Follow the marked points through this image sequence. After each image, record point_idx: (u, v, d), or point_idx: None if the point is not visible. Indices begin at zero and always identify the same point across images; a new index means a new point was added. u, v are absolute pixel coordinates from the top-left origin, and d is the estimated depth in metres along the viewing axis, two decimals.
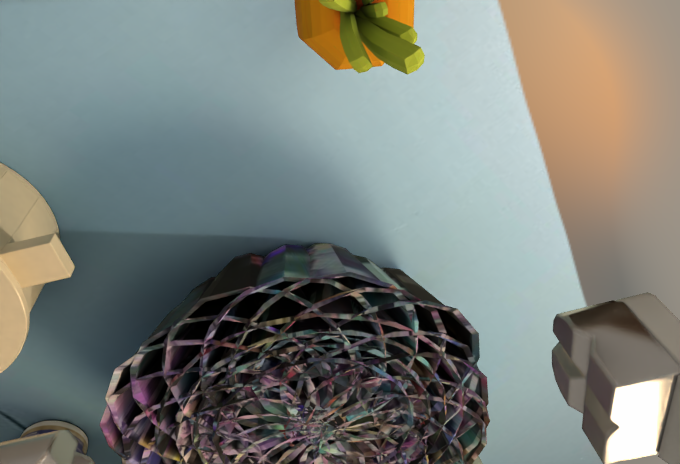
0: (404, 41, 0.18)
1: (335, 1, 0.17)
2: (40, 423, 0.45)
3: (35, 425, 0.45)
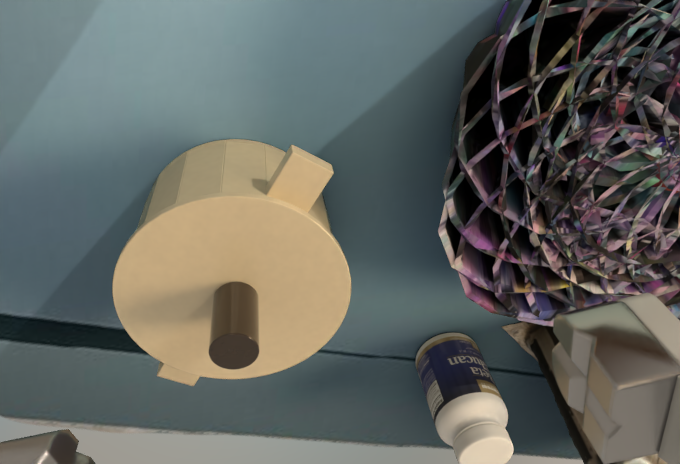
0: None
1: None
2: (422, 347, 0.44)
3: (419, 351, 0.44)
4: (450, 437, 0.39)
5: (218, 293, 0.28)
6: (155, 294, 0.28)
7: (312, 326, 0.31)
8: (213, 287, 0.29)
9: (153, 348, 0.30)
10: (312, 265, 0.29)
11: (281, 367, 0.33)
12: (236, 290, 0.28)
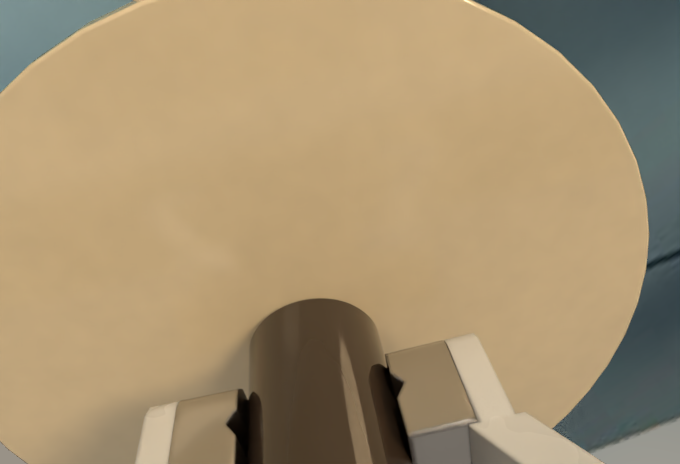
0: None
1: None
2: None
3: None
4: None
5: None
6: None
7: (568, 288, 0.10)
8: (238, 357, 0.10)
9: None
10: (434, 129, 0.08)
11: (559, 412, 0.12)
12: (275, 341, 0.09)
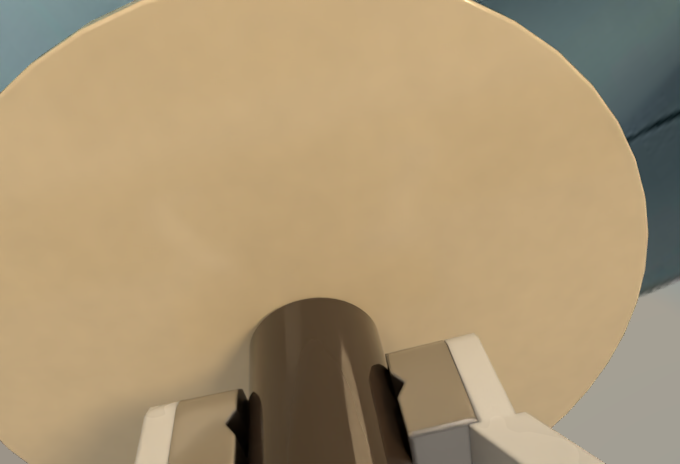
0: None
1: None
2: None
3: None
4: None
5: (250, 369, 0.09)
6: None
7: (567, 287, 0.10)
8: (238, 357, 0.10)
9: None
10: (434, 128, 0.08)
11: (558, 411, 0.12)
12: (275, 341, 0.09)
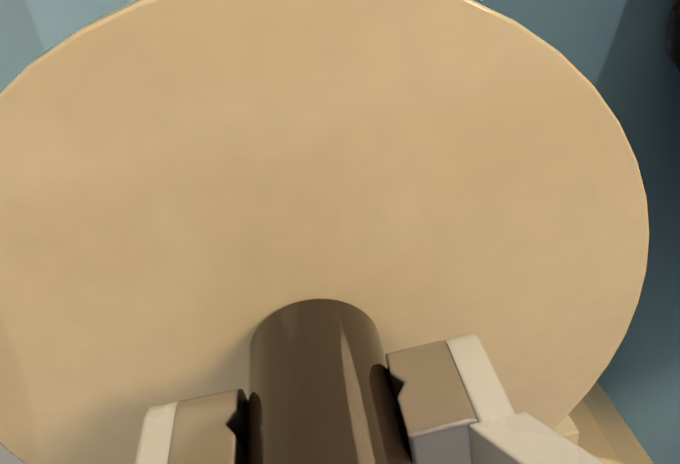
0: None
1: None
2: None
3: None
4: None
5: None
6: None
7: (568, 288, 0.10)
8: (238, 358, 0.10)
9: None
10: (434, 129, 0.08)
11: (559, 412, 0.12)
12: (276, 342, 0.09)
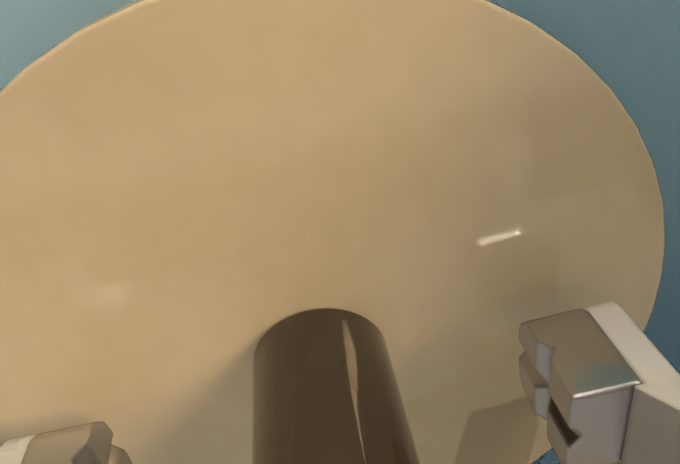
0: None
1: None
2: None
3: None
4: None
5: None
6: (140, 456, 0.11)
7: (581, 297, 0.10)
8: (241, 369, 0.10)
9: None
10: (445, 134, 0.08)
11: None
12: (280, 354, 0.08)
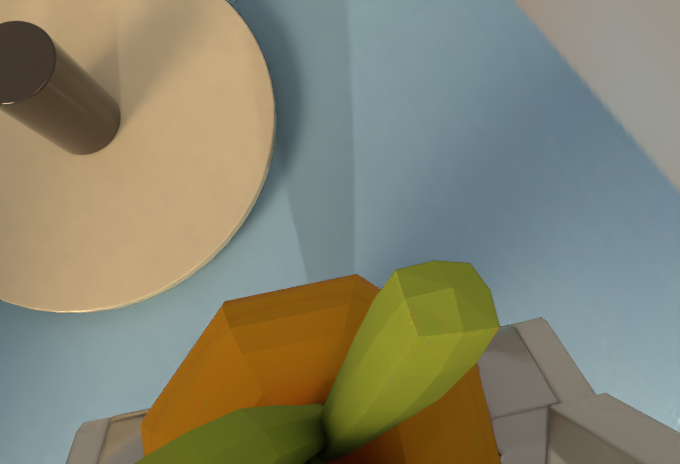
0: None
1: (418, 342, 0.03)
2: None
3: None
4: None
5: (114, 111, 0.18)
6: (183, 43, 0.18)
7: None
8: (127, 111, 0.18)
9: None
10: (37, 252, 0.17)
11: None
12: (97, 136, 0.17)
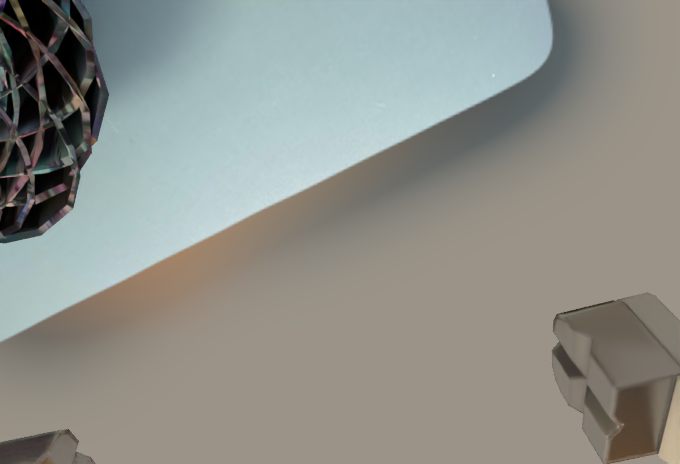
0: None
1: None
2: None
3: None
4: None
5: None
6: None
7: None
8: None
9: None
10: None
11: None
12: None
